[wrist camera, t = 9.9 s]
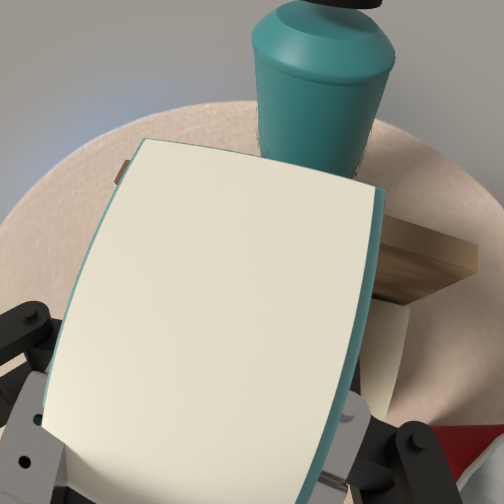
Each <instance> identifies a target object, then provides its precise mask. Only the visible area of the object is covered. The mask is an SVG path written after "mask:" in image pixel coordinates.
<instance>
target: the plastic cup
mask: <svg viewBox="0 0 504 504" xmlns="http://www.w3.org/2000/svg"><path fill="white" fill-rule="evenodd" d="M431 428H432V430H433V431H434V432H435V433H436V435H437V437H438V440H439V442H440V444H441V447H442V449H443V452H444V454H445V457H446V459H447V461H448V464H449V467H450V469H451V472H452V474H453V477H454V480H455V482H456V485H457V488H458V490H459V493H460V496H461V499H462V502H463V504H504V424H502V425H462V426H437V427H431Z"/></svg>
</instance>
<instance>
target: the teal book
mask: <svg viewBox="0 0 504 504" xmlns="http://www.w3.org/2000/svg"><path fill="white" fill-rule="evenodd" d="M384 198H385V189H383V188H380V187H377V186H373V185H370V184H367V183H363V182H360V181H357V180H353V179H350V178H346V177H342V176H339V175H335V174H331V173H328V172H324V171H320V170H316V169H312V168H308V167H304V166H300V165H296V164H291V163H287V162H283V161H278V160H274V159H269V158H264V157H259V156H255V155H250V154H245V153H239V152H234V151H229V150H223V149H217V148H211V147H205V146H199V145H193V144H186V143H179V142H172V141H164V140H156V139H148V138H143V140H142V142H141V143H140V145H139V147H138V148H137V150H136V152H135V154H134V155H133V157H132V159H131V161H130V163H129V164H128V166H127V168H126V170H125V172H124V174H123V176H122V178H121V179H120V181H119V183H118V185H117V187H116V189H115V191H114V193H113V195H112V197H111V199H110V201H109V203H108V205H107V208H106V210H105V212H104V214H103V216H102V218H101V220H100V223H99V225H98V227H97V229H96V232H95V234H94V236H93V239H92V241H91V243H90V246H89V248H88V251H87V253H86V256H85V258H84V261H83V263H82V266H81V268H80V271H79V274H78V276H77V279H76V282H75V285H74V287H73V290H72V293H71V296H70V299H69V302H68V305H67V308H66V311H65V314H64V318H63V321H62V324H61V328H60V331H59V335H58V338H57V342H56V346H55V349H54V353H53V357H52V361H51V366H50V370H49V374H48V379H47V384H46V389H45V394H44V399H43V405H42V406H43V407H44V413H43V419H41V421H40V424H39V426H41V425H42V426H41V427H43V428H44V429H45V430H47V431H48V432H49V433H51V434H52V435H54V436H55V437H56V438H58V439H59V440H61V441H62V442H64V443H65V456H66V467H67V476H68V482H67V486H69V487H70V488H72V489H73V490H75V491H77V492H78V493H80V494H81V495H83V496H85V497H86V498H88V499H89V500H91V501H93V502H95V503H96V504H307V503H308V501H309V499H310V497H311V494H312V492H313V490H314V488H315V485H316V483H317V480H318V478H319V476H320V473H321V471H322V468H323V466H324V463H325V460H326V458H327V455H328V453H329V450H330V447H331V444H332V442H333V439H334V436H335V433H336V430H337V427H338V424H339V421H340V418H341V415H342V412H343V409H344V406H345V402H346V399H347V396H348V392H349V389H350V385H351V382H352V378H353V375H354V371H355V367H356V363H357V359H358V355H359V351H360V347H361V343H362V339H363V334H364V330H365V325H366V321H367V316H368V311H369V306H370V301H371V295H372V290H373V284H374V278H375V272H376V266H377V259H378V252H379V244H380V237H381V228H382V219H383V209H384Z"/></svg>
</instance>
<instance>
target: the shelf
mask: <svg viewBox="0 0 504 504" xmlns="http://www.w3.org/2000/svg"><path fill="white" fill-rule="evenodd" d="M130 161H131V160H125V162H124V164H123V166H122V167H121V169H120V171H119V173H118V175H117V177H116V179H115V181H114V182H115V183H116V185H118V183H119V181H120V179H121V178H122V176H123V174H124V172H125V170H126V168H127V166H128V164H129V163H130ZM476 272H477V245H474V244H471V243H469V242H466V241H463V240H460V239H457V238H455V237H452V236H449V235H446V234H443V233H440V232H437V231H434V230H431V229H428V228H425V227H422V226H419V225H416V224H412V223H409V222H406V221H403V220H399V219H396V218H393V217H390V216H386V215H383V219H382V228H381V237H380V244H379V252H378V259H377V266H376V272H375V278H374V284H373V290H372V295H371V301H370V306H369V311H368V316H367V321H366V325H365V330H364V334H363V339H362V343H361V347H360V351H359V361H360V383H361V397H362V398H363V399H364V400H365V401H366V402H367V404H368V406H369V408H370V412H371V415H373V416H374V417H375V418H377V419H379V420H381V421H383V422H384V421H385V418H386V414H387V411H388V408H389V404H390V401H391V397H392V394H393V390H394V386H395V383H396V379H397V375H398V371H399V366H400V362H401V358H402V353H403V348H404V343H405V338H406V333H407V328H408V322H409V316H410V310H411V308H410V307H405V306H404V305H406V304H409V303H411V302H414V301H416V300H418V299H421V298H423V297H425V296H427V295H430V294H432V293H434V292H436V291H438V290H441V289H443V288H445V287H447V286H449V285H451V284H453V283H455V282H458V281H460V280H462V279H464V278H466V277H468V276H470V275H472V274H474V273H476Z"/></svg>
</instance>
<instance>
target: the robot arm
mask: <svg viewBox="0 0 504 504" xmlns="http://www.w3.org/2000/svg"><path fill="white" fill-rule="evenodd" d="M62 321H63V320H59V319H54V318H51V315H50V312H49V309H48V307H47V306H46V305H45V304H44V303H42V302H39V301H28V302H25V303H22V304H20V305H18V306H16V307H14V308H13V309H11V310H9V311H7V312H5V313H3V314H1V315H0V366H1V365H3V364H5V363H6V362H8V361H10V360H11V359H13V358H15V357H16V356H18V355H20V354H21V353H24V355H25V357H26V360H27V361H26V362H24V363H23V364H21V365H20V366H18V367H16V368H15V369H13V370H11V371H10V372H8V373H7V374H5V375H3V376H2V377H0V428H1V427H3V426H4V425H6V427H5V429H4V432H3V434H2V437H1V440H0V504H96V503H95V502H93V501H91V500H89V499H88V498H86V497H85V496H83V495H81V494H80V493H78V492H77V491H75V490H73V489H72V488H70V487H69V486H67V482H68V476H67V467H66V456H65V443H64V442H62V441H61V440H59V439H58V438H56V437H55V436H54V435H52V434H51V433H49V432H48V431H47V430H45V429H44V428H43V427H41V426H42V425H41V426H39V424H40V421H41V419H43V413H44V407H43V406H42V405H43V399H44V394H45V389H46V384H47V379H48V374H49V370H50V366H51V361H52V357H53V353H54V349H55V346H56V342H57V338H58V335H59V331H60V328H61V324H62ZM345 483H346V484H349V485H350V489H351V494H352V498H353V503H354V504H463V502H462V499H461V496H460V493H459V490H458V488H457V485H456V482H455V480H454V477H453V474H452V472H451V469H450V467H449V464H448V461H447V459H446V457H445V454H444V452H443V449H442V447H441V444H440V442H439V440H438V437H437V435H436V433H435V432H434V431H433V430H432V428H431V427H429V426H428V425H426V424H425V423H422V422H419V421H409V422H406V423H404V424H403V425H401V426H400V427H399V428H397V427H394V426H392V425H390V424H387V423H385V422H383V421H381V420H379V419H377V418H375V417H374V416H373V415H371V412H370V408H369V406H368V404H367V402H366V401H365V400H364V399H363V398H362V397H361V383H360V361H359V355H358V359H357V363H356V367H355V371H354V375H353V378H352V382H351V385H350V389H349V392H348V396H347V399H346V402H345V406H344V409H343V412H342V415H341V418H340V421H339V424H338V427H337V430H336V433H335V436H334V439H333V442H332V444H331V447H330V450H329V453H328V455H327V458H326V460H325V463H324V466H323V468H322V471H321V473H320V476H319V478H318V480H317V483H316V485H315V488H314V490H313V492H312V494H311V497H310V499H309V501H308V503H307V504H343V502H344V500H345V498H346V495H347V492H348V485H346V484H345Z"/></svg>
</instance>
